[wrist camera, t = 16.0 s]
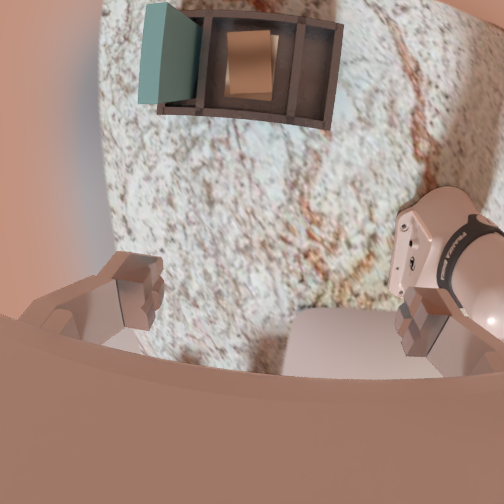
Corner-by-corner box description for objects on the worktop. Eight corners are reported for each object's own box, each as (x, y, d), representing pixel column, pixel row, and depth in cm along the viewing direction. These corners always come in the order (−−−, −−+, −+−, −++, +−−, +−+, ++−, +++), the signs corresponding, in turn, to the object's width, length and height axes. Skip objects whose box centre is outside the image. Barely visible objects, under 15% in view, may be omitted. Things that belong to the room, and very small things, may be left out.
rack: (322, 124, 41) (330, 130, 36) (169, 110, 42) (153, 114, 36) (334, 33, 34) (344, 24, 29) (177, 20, 35) (162, 11, 29)
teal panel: (198, 97, 39) (157, 103, 25) (184, 97, 39) (137, 104, 25) (204, 30, 34) (167, 2, 20) (190, 30, 34) (146, 4, 20)
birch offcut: (271, 100, 39) (271, 101, 37) (226, 96, 39) (224, 96, 37) (278, 38, 34) (278, 35, 32) (233, 34, 34) (230, 31, 32)
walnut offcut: (272, 92, 36) (272, 92, 34) (232, 93, 36) (230, 94, 34) (270, 33, 32) (269, 30, 30) (230, 35, 33) (227, 32, 30)
